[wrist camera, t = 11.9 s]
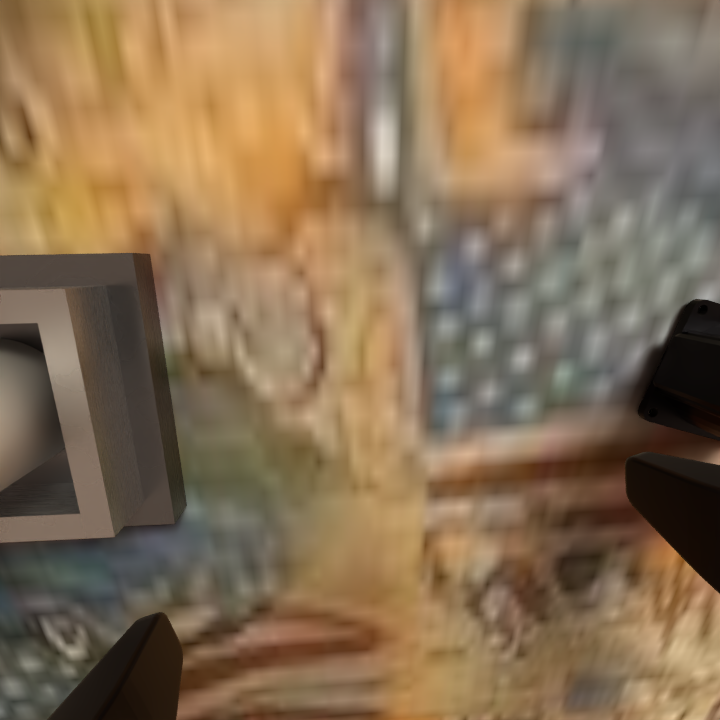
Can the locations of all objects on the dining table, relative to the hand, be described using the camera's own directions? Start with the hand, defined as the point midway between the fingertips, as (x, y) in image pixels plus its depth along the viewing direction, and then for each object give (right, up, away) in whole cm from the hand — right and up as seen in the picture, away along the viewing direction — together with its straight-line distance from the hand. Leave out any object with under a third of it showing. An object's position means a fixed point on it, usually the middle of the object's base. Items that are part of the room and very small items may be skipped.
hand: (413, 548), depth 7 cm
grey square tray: (-17, +2, +12) cm, 21 cm away
